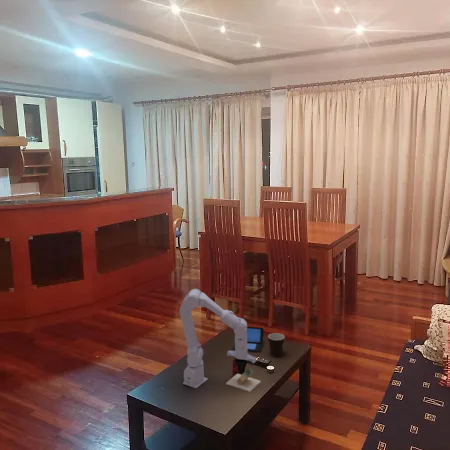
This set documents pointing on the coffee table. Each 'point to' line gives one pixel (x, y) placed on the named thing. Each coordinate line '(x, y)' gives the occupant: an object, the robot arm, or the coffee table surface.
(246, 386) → the grey mat
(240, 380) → the oak slab
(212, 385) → the coffee table surface
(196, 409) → the coffee table surface
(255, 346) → the handheld game console
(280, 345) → the coffee mug
